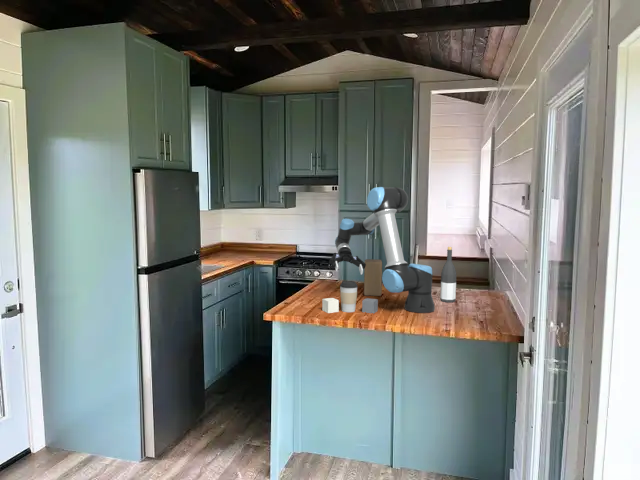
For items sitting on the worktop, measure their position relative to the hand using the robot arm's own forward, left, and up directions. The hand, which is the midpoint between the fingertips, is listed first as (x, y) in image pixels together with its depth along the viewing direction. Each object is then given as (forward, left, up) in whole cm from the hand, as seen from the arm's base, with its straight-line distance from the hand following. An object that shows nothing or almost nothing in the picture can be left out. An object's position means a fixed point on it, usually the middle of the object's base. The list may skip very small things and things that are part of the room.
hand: (349, 270), depth 253 cm
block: (+5, -28, -18) cm, 34 cm away
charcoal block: (-17, +5, -18) cm, 25 cm away
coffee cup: (-8, +11, -18) cm, 23 cm away
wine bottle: (-35, -43, -18) cm, 59 cm away
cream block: (-2, +18, -18) cm, 25 cm away
